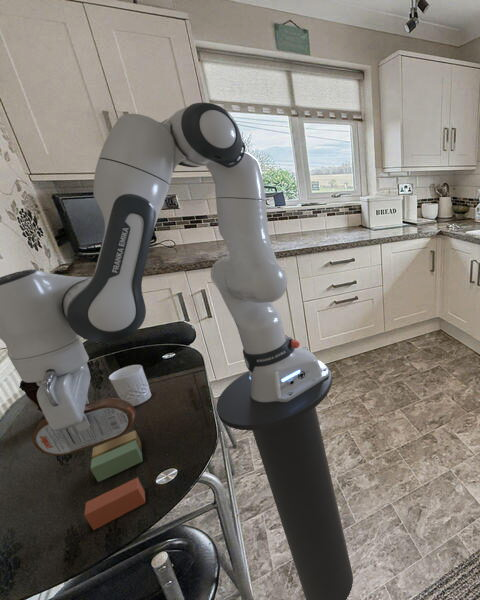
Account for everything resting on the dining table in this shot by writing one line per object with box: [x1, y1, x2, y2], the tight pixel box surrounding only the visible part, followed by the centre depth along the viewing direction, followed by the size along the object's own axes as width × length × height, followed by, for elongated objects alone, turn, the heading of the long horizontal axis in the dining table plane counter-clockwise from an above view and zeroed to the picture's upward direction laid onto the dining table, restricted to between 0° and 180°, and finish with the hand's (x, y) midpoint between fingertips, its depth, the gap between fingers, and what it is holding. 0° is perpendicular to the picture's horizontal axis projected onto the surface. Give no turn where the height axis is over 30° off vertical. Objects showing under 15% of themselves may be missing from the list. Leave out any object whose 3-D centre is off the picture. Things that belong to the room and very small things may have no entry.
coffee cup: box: [18, 379, 45, 419], centre depth 94 cm, size 9×8×13 cm
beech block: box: [91, 430, 143, 459], centre depth 77 cm, size 8×4×4 cm, turn 129°
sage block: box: [89, 440, 143, 483], centre depth 74 cm, size 8×4×4 cm, turn 129°
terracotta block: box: [83, 477, 146, 531], centre depth 64 cm, size 8×4×4 cm, turn 129°
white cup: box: [108, 364, 152, 407], centre depth 97 cm, size 8×8×10 cm
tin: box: [31, 397, 137, 456], centre depth 64 cm, size 15×3×8 cm, turn 118°
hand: (85, 422), depth 64 cm, fingers closed on tin, 3 cm apart
